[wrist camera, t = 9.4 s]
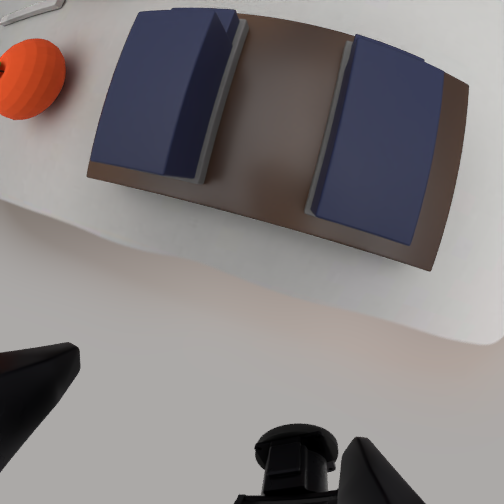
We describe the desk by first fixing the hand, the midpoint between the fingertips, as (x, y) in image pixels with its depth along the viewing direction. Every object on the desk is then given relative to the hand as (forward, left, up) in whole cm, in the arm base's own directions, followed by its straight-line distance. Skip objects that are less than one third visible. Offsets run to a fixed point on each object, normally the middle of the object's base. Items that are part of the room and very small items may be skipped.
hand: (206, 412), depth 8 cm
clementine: (+22, +11, -12) cm, 27 cm away
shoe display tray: (+9, -5, -12) cm, 16 cm away
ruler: (+36, +13, -12) cm, 40 cm away
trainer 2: (+6, -9, -8) cm, 13 cm away
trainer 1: (+12, -1, -8) cm, 14 cm away
